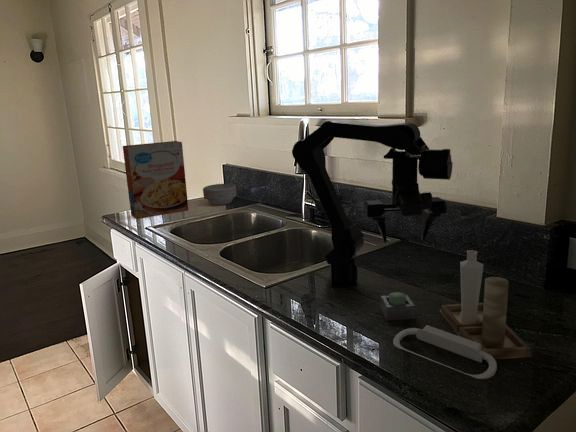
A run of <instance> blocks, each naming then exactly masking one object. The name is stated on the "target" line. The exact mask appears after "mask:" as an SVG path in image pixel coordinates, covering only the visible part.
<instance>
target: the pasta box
mask: <svg viewBox="0 0 576 432" xmlns="http://www.w3.org/2000/svg"><path fill="white" fill-rule="evenodd" d="M122 154H123V160H124V168H125V177H126V183H127V186H126V187H127V193H128V201H129V209H130V216H131V217H132V218H134V219H136V220H139V219H147V218H152V217H158V216H164V215H170V214H175V213H181V212H186V211H187V212H188V211H189V202H188V200H189V199H188V194H187V193H188V191H187V181H186V170H185V159H184V158H185V157H184V151H183V141H177V140H170V141H162V142H152V143H151V142H150V143H139V144H130V145H122Z"/></svg>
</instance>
